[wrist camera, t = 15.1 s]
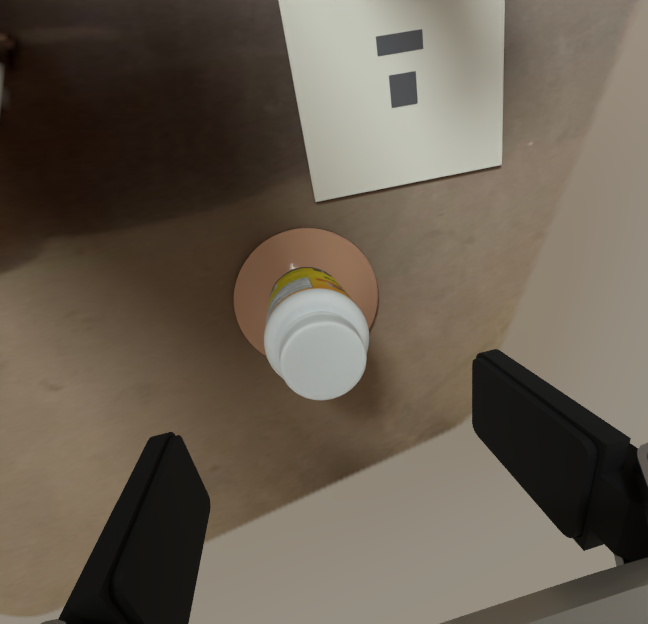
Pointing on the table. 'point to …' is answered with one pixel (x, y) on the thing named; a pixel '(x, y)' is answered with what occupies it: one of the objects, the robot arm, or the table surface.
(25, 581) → the table surface
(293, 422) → the table surface
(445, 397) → the table surface
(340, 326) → the supplement bottle
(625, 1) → the table surface
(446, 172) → the white flat square slab
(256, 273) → the peach domed disc
